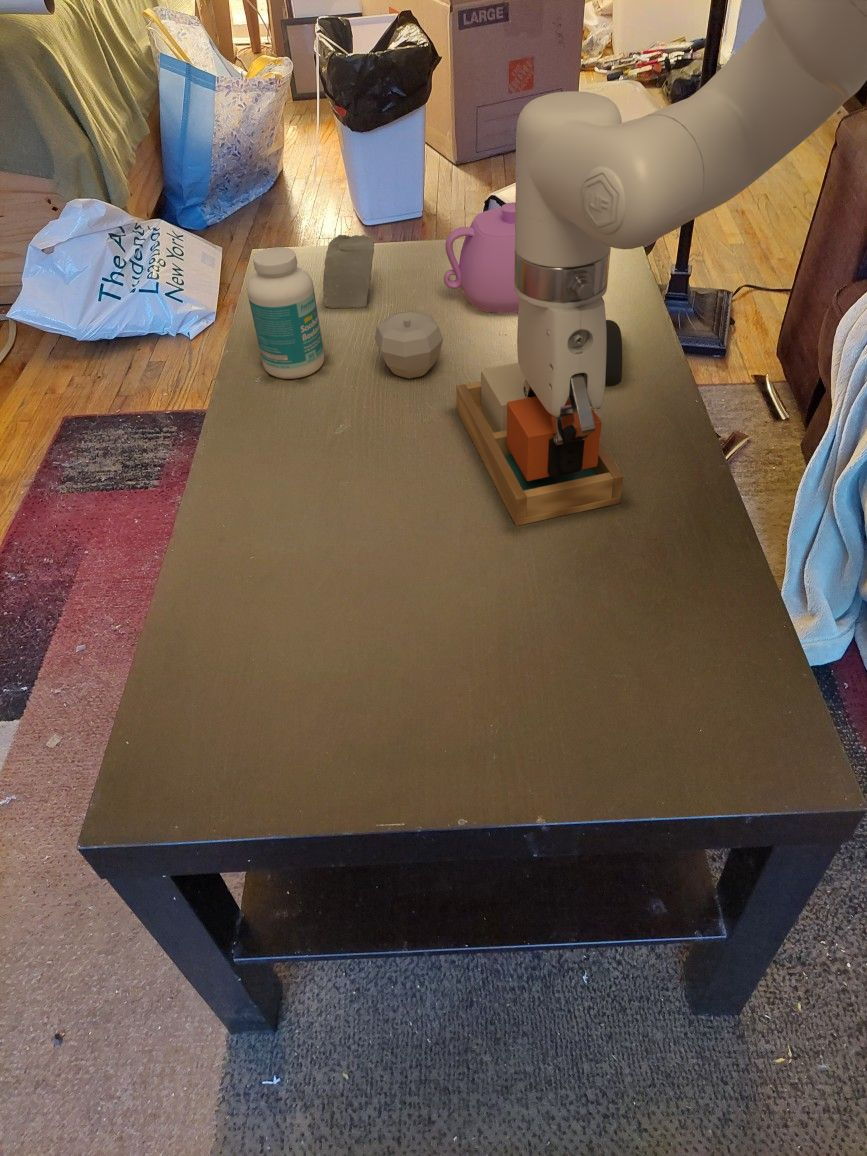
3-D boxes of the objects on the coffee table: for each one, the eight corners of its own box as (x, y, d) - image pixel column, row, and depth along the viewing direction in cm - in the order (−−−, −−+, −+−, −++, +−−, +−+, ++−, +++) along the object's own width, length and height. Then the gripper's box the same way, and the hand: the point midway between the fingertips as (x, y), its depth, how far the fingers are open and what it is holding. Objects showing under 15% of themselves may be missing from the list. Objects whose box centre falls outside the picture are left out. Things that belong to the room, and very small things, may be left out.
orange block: (573, 431, 83) (577, 387, 80) (597, 466, 79) (602, 422, 75) (506, 445, 82) (506, 401, 79) (526, 481, 78) (528, 437, 74)
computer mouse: (617, 335, 102) (620, 304, 99) (622, 386, 94) (626, 354, 91) (564, 335, 103) (566, 304, 100) (565, 385, 95) (567, 354, 92)
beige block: (533, 399, 92) (535, 359, 88) (556, 435, 87) (559, 393, 83) (481, 410, 91) (480, 369, 87) (501, 446, 86) (501, 405, 82)
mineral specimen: (391, 300, 110) (372, 243, 104) (329, 319, 111) (306, 263, 105) (389, 273, 115) (370, 217, 109) (329, 291, 116) (308, 237, 110)
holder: (547, 393, 94) (548, 367, 91) (620, 503, 80) (624, 476, 78) (457, 411, 92) (455, 385, 90) (515, 526, 78) (516, 499, 76)
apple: (364, 369, 100) (357, 318, 95) (416, 346, 103) (412, 295, 98) (405, 397, 95) (400, 344, 90) (458, 371, 98) (456, 319, 94)
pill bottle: (321, 380, 98) (303, 269, 89) (259, 383, 99) (234, 272, 89) (328, 348, 104) (311, 239, 94) (269, 350, 104) (246, 242, 94)
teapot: (451, 328, 105) (448, 235, 97) (438, 281, 115) (434, 192, 106) (608, 311, 106) (617, 217, 98) (582, 265, 116) (589, 176, 107)
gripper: (651, 310, 62) (625, 498, 75) (566, 222, 74) (556, 397, 87) (555, 328, 61) (546, 516, 74) (484, 236, 73) (487, 411, 86)
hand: (551, 450), depth 80 cm, fingers closed on orange block, 6 cm apart
